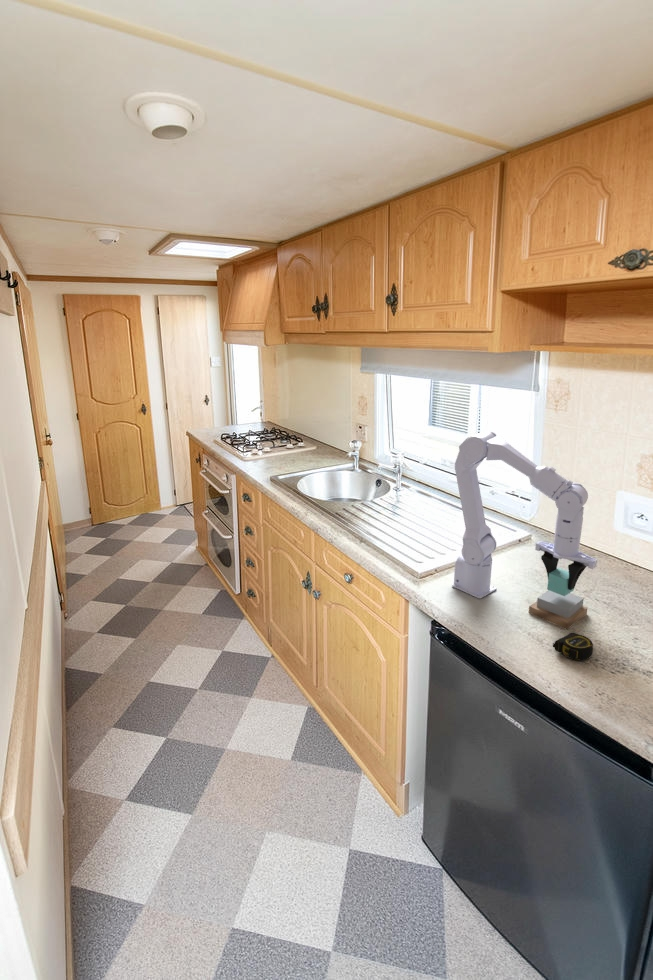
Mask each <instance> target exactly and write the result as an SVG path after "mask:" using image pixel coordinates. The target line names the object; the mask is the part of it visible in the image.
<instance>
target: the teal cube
mask: <svg viewBox="0 0 653 980" xmlns="http://www.w3.org/2000/svg"><path fill="white" fill-rule="evenodd" d="M568 581H569V570H566V569H563V568H560V567H557V569H556V570H554V571H552V572H551V573H549V578H548V577H547V591H548V590H550V591H552V592H555V593H557V594H560V595H562V596H566V595H567V594H569V593H571V592H574V590H575V588H573V589H572V590H569V589H568Z"/></svg>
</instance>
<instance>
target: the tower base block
mask: <svg viewBox="0 0 653 980" xmlns="http://www.w3.org/2000/svg"><path fill="white" fill-rule="evenodd" d="M528 613H529V614H531V615H534V616H536V617H538V618H540V619H542V620H544V621H546V622H549V623H551V624H554V625H556V626H558V627H560V628H563V629H565V630H568V629H569V628H571V627H572V626H573V625H575V624H576V623H577V622H579V621H580V620H581V619H583V618H584V617H586V616H587V614H588V607H586V606H584V605H583V607H582V608H581V609H579V610H578V611H577V612H576V613H574V614H573V615H572V616H571V617H570V618H568V619H567V618H564V617H562V616H559V615H557V614H554V613H552V612H549V611H547V610H544V609H542V608H539V607H537V601H536V602H534V603H532V604H531V605H529V607H528Z"/></svg>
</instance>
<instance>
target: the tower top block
mask: <svg viewBox="0 0 653 980" xmlns="http://www.w3.org/2000/svg"><path fill="white" fill-rule="evenodd" d="M584 600H585V599H584V597H582V596H578V595H576V594H574V593H571V592H570V593H569V594H567V595H566V596H562V595H560V594H557V593H555V592H552V591H550V590H547V591H545V592H543V593H542V594H541V595H540V596H538V597H537V599H536V602H537V607H539V608H542V609H544V610H547V611H549V612H552V613H554V614H557V615H559V616H562V617H564V618H567V619H568V618H570V617H571V616H572V615H573V614H574V613H576V612H577V611H578V610H579V609H581V608H582V607H583V606H584Z"/></svg>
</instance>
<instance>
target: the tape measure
mask: <svg viewBox="0 0 653 980" xmlns="http://www.w3.org/2000/svg"><path fill="white" fill-rule="evenodd" d="M552 647H553V649H554V650H555V651H556V652H557V653H559V654H563V655H564V656H565V657H567V658H568V659H570V660H576V661H585V660H586V661H587V660H588V659H590V658H591V656H593V652H594V643H593V641H592V640H591V639H590V638H589V637H587V636H585V635H582V634H578V633H576V632H568V633H567V634H565V636H562V637H560V638H558V639H557V640H555V641H554V643H553V642H552Z"/></svg>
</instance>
